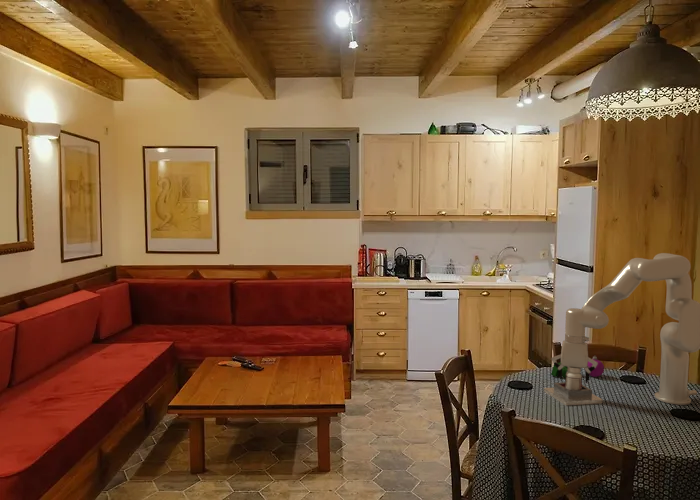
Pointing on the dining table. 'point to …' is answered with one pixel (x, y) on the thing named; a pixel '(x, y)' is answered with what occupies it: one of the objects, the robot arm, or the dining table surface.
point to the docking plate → (572, 395)
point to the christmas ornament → (598, 369)
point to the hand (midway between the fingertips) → (573, 380)
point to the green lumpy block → (555, 371)
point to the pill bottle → (573, 379)
